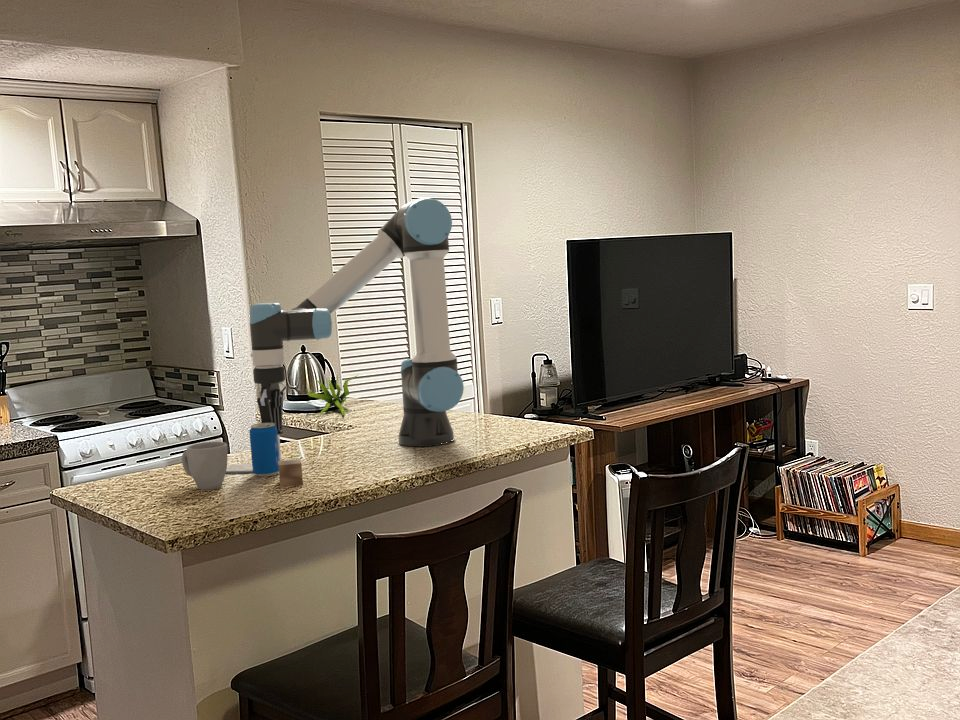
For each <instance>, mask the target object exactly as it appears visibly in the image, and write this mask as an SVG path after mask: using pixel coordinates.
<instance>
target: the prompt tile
mask: <svg viewBox="0 0 960 720" xmlns="http://www.w3.org/2000/svg"><path fill="white" fill-rule="evenodd" d="M241 474H242V475H244V474H245V475H246V474H249V475H250V474H254V473H253V467H252V463H233V464H231V465H230V466H227V469H226V474H225V475H241Z"/></svg>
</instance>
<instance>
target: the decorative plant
mask: <svg viewBox="0 0 960 720" xmlns="http://www.w3.org/2000/svg"><path fill="white" fill-rule="evenodd" d="M337 373H339V372H338V371H337ZM358 376H359V374H357V375H355V376H353V377H351V378H349V379H346V380H344V382H343V385H342V386H343V389H341V387H340V385H339V383H338V380H339V379H338V378H339V374H337V375H336V381H335V387H334V385H333V383H332V380H331V379H328V378H327V377H325V379H326V382H327V383H328V388H329V389H328V388H327V387H326V386H325V384H323V383H322V382H321V381H319V380H318V379H317V377H316V376H315V378H314V379H315V381H316V382H317V383H318V385H319V386H320V387H321V391H322V392H323V393H315V392H313V390H312V389H307V388H306V389H305V390H306V391H307V395H308V397H311V398H315V399H319V400H322V401H325V402H326V403H325V404H324V406H325V407H324V408H323V409H322V410H321V411H320V413H318V415H317V417H319V416H321V415H322V414H323V413H324V412H326V411H328V410H329V408H331V407H334V408H335V409H336V408H338V409H339V411H340V412H341V415H342V416H346V414H345V413H346V412H345V408H344V407H343V405H342V404H343V403H345V401H346V400H347V396H349V395H350V391H349V386H348V384H349V381H352V380H353V379H355V378H356V377H358ZM335 388H336V390H335ZM342 390H343V393H341V391H342ZM312 416H314V417H315V415H314V414H313V415H312Z"/></svg>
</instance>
